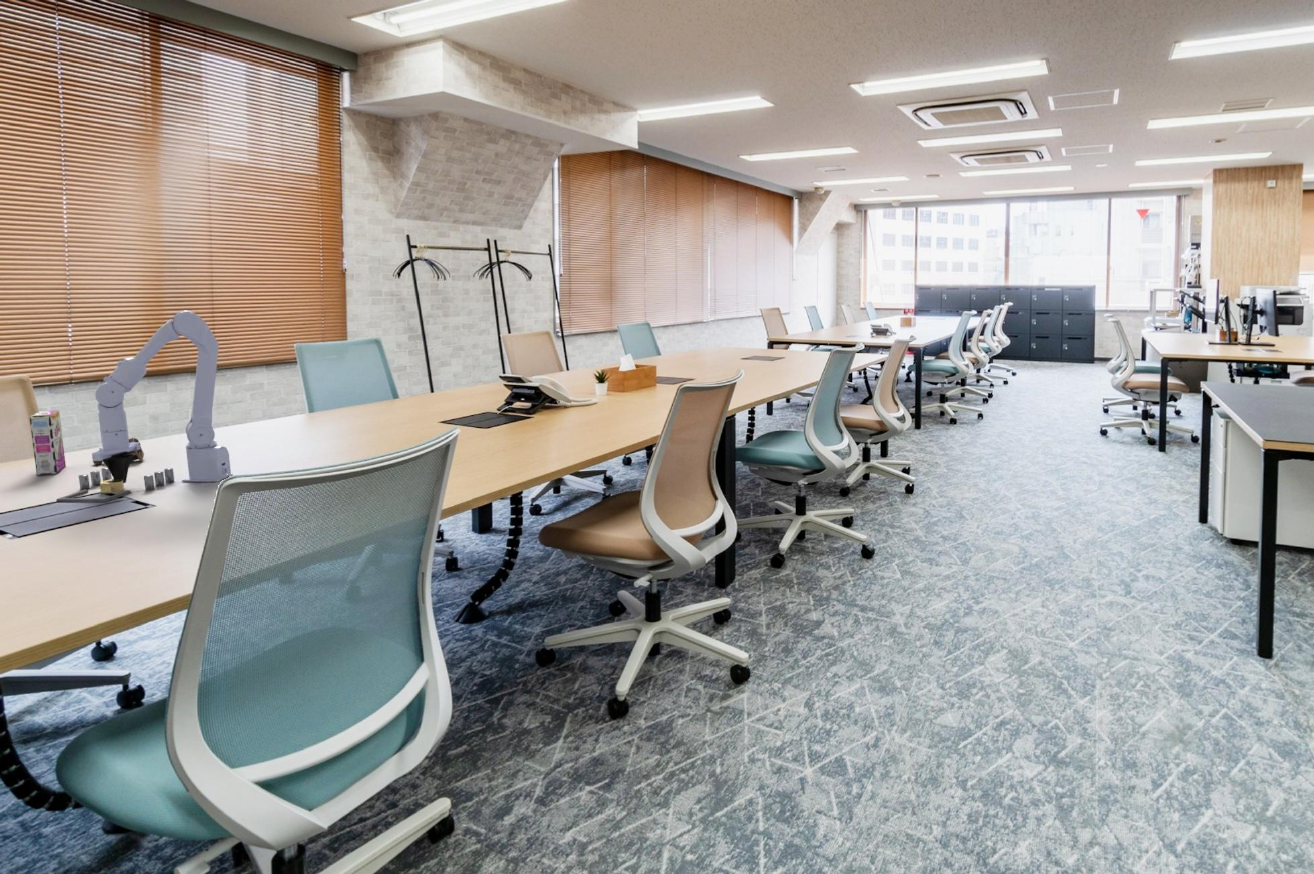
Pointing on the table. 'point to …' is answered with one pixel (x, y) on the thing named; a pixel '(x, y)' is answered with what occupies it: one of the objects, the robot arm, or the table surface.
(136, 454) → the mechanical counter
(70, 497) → the frame
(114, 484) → the nut
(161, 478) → the metal pins
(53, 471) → the candy bar box
